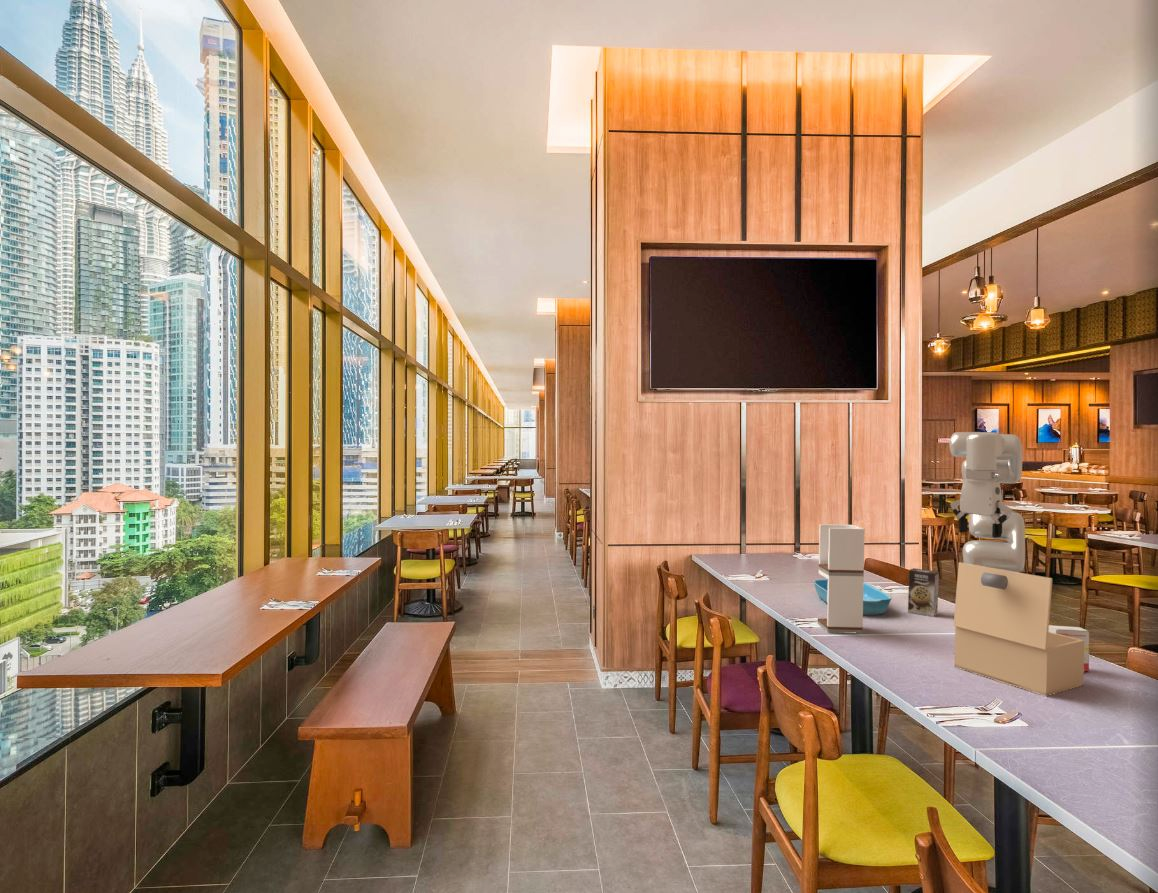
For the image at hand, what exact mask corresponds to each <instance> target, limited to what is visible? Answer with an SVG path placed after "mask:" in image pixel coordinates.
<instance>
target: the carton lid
mask: <svg viewBox="0 0 1158 893" xmlns="http://www.w3.org/2000/svg"><path fill="white" fill-rule="evenodd" d="M1052 588H1053V578H1052V577H1048V576H1047V577H1046V576H1041V575H1035V574H1030V573H1023V572H1013V571H1007V570H1001V569H996V568H990V567H984V566H978V565H973V564H967V563H964V562H961V561H960V562H958V568H957V581H956V592H955V593H956V595H955V604H954V614H953V615H954V616H953V626H954V627H955V626H957V627H961V628H965V629H968V630H972V631H976V632H980V633H984V634H987V635H991V636H995V637H999V638H1003V639H1006V640H1010V641H1014V642H1018V643H1022V644H1025V645H1029V646H1033V647H1037V648H1041V649H1044V650H1047V642H1048V632H1049V625H1050V618H1051V617H1050V615H1051V604H1052V603H1051V601H1052V592H1053V591H1052V590H1053V589H1052Z"/></svg>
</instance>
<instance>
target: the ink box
mask: <svg viewBox="0 0 1158 893" xmlns="http://www.w3.org/2000/svg"><path fill="white" fill-rule="evenodd" d="M1048 632H1051V633H1056V634H1060V635H1064V636H1068V637H1072V638H1076V639H1081V640H1084V673H1086V672H1085V671H1089V672H1090V631H1088V629H1084V628H1082V627H1080V626H1065V625H1064V626H1063V625H1062V626H1061V625H1051V624H1049V629H1048Z"/></svg>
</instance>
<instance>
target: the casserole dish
mask: <svg viewBox="0 0 1158 893" xmlns="http://www.w3.org/2000/svg"><path fill="white" fill-rule="evenodd" d="M813 585H814V588H815V591H816V595H817V596H818V597H819V598H820V599H821V600H822V601H824V602H825V603H826V604H828V603H827V593H828V579H827V578H818V579H814V580H813ZM891 600H892V596H890V595H889V594H888V593H886V592H884V591H882V590H880V589H879V588H877V587H875V586H873V585H871V584H869V583H867V582H864V583H863V615H872V616H873V615H877V616H878V615H882V614H884V613H885V612H886V611H887V610H888V608H889V605H890V603H891Z"/></svg>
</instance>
